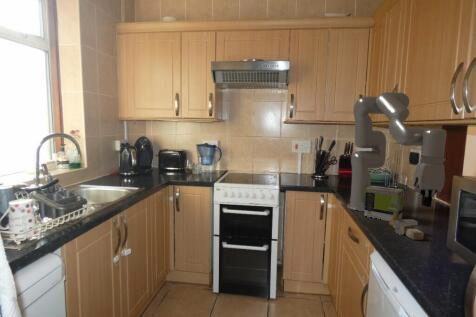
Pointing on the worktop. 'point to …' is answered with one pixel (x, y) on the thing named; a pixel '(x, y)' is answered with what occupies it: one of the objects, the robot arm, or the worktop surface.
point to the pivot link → (407, 229)
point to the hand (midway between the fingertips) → (426, 205)
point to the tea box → (383, 202)
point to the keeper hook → (403, 225)
